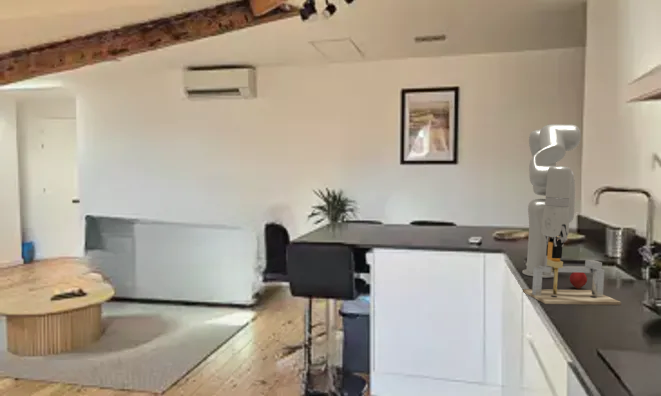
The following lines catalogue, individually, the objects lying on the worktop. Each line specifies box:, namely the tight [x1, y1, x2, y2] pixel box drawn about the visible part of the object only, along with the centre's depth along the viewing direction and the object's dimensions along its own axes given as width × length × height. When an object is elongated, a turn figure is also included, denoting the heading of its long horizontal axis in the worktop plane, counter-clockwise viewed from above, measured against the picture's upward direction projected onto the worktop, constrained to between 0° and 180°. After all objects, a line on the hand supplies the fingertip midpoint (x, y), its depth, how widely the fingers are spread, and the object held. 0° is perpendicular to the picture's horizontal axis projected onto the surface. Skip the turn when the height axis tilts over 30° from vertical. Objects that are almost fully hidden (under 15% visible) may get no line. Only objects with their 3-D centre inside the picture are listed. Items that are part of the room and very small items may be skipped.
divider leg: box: [547, 242, 564, 294], centre depth 178 cm, size 5×3×17 cm, turn 5°
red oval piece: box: [569, 272, 588, 290], centre depth 195 cm, size 6×6×8 cm
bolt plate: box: [522, 288, 622, 306], centre depth 180 cm, size 16×26×1 cm, turn 95°
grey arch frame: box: [531, 259, 606, 297], centre depth 178 cm, size 5×24×12 cm, turn 95°
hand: (553, 256), depth 178 cm, fingers closed on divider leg, 3 cm apart
